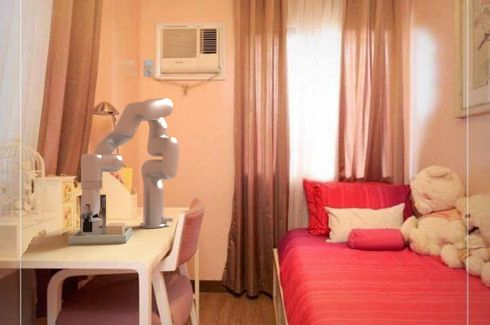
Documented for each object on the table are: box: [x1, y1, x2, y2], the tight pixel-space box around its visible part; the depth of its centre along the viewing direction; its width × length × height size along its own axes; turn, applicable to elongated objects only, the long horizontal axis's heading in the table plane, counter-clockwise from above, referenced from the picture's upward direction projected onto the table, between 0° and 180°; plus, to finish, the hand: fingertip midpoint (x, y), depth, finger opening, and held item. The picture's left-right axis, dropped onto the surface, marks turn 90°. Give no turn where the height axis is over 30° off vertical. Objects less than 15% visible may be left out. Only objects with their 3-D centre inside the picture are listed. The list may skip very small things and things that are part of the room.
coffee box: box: [79, 193, 107, 230], centre depth 139 cm, size 9×6×16 cm
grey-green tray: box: [67, 227, 133, 246], centre depth 126 cm, size 20×14×3 cm
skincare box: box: [81, 218, 103, 236], centre depth 126 cm, size 6×6×7 cm
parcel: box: [106, 222, 126, 235], centre depth 127 cm, size 6×6×5 cm
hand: (91, 229), depth 125 cm, fingers open, 9 cm apart
